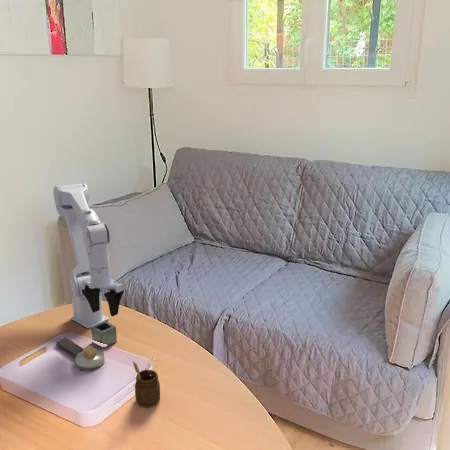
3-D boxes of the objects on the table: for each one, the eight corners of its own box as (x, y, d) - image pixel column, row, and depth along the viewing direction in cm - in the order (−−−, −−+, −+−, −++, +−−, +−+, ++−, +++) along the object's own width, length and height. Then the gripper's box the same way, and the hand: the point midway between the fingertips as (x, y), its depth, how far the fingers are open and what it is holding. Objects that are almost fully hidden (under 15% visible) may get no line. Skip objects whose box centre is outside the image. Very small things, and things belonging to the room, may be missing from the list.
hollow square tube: (92, 342, 149) (91, 327, 147) (106, 335, 152) (105, 320, 151) (102, 348, 145) (101, 333, 144) (116, 341, 149) (115, 326, 147)
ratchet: (49, 348, 145) (47, 335, 144) (72, 338, 150) (71, 325, 149) (86, 374, 134) (85, 359, 132) (110, 362, 139) (109, 348, 138)
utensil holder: (165, 400, 123) (163, 357, 120) (143, 412, 119) (141, 367, 116) (151, 389, 128) (149, 347, 124) (129, 400, 123) (127, 357, 120)
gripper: (71, 268, 144) (77, 314, 146) (107, 273, 136) (112, 321, 138) (90, 262, 149) (95, 306, 152) (126, 266, 141) (131, 313, 144)
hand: (105, 313), depth 145 cm, fingers open, 7 cm apart
